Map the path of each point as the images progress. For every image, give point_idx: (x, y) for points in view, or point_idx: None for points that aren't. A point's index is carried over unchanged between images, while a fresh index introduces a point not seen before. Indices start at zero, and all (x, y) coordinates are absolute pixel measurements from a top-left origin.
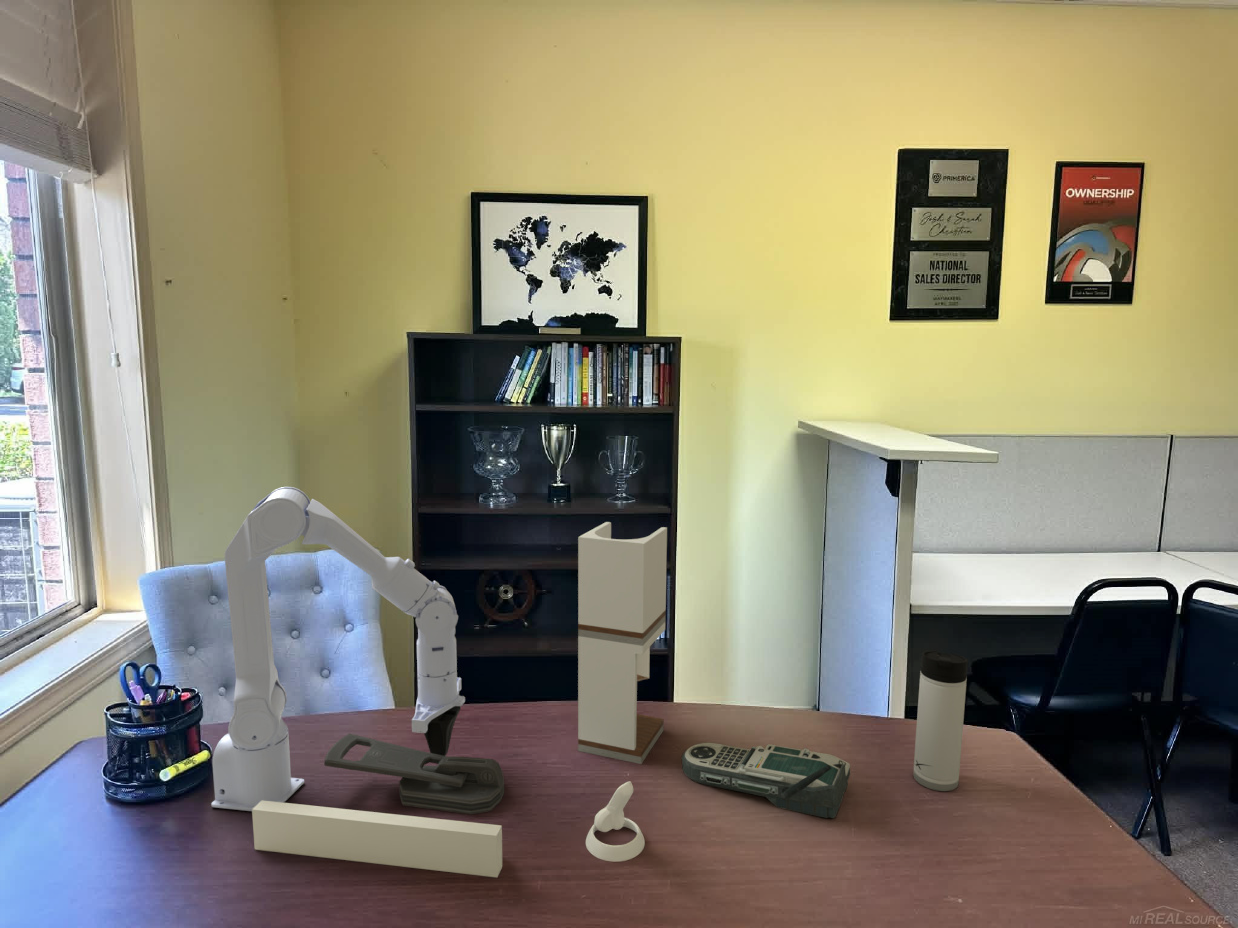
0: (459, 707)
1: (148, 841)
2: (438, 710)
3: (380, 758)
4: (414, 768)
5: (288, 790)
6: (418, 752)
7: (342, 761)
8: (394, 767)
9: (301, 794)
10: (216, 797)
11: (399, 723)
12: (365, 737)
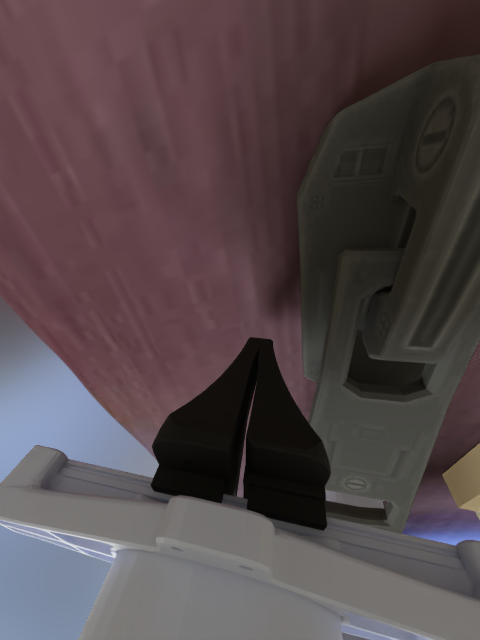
0: (183, 441)
1: (422, 532)
2: (422, 633)
3: (379, 475)
4: (423, 410)
5: None
6: (331, 413)
7: (402, 522)
8: (422, 449)
9: None
10: None
11: (141, 406)
12: None
